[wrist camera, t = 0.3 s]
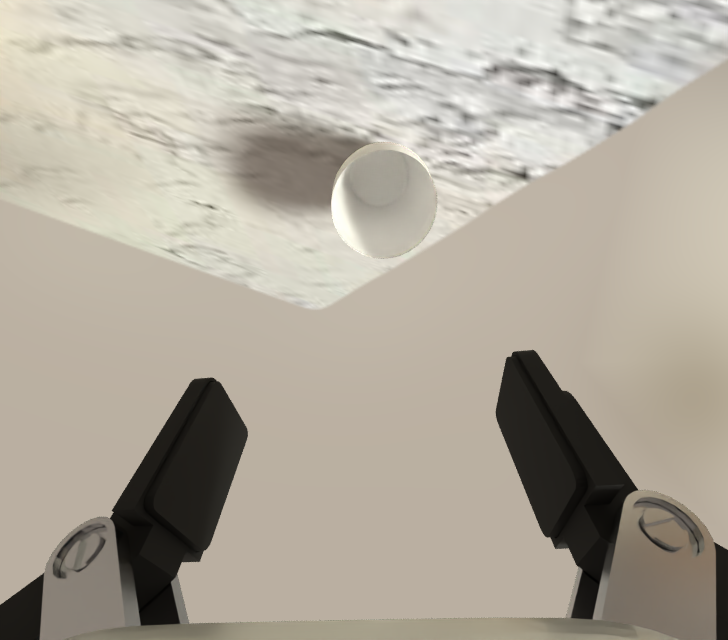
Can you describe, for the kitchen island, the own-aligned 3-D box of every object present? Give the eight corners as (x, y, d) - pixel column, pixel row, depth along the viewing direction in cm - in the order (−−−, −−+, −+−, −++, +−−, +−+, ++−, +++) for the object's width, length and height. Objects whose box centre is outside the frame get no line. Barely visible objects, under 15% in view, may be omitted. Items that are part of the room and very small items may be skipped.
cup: (341, 218, 38) (333, 261, 28) (336, 132, 32) (323, 148, 23) (415, 217, 37) (432, 259, 28) (422, 130, 32) (447, 145, 22)
